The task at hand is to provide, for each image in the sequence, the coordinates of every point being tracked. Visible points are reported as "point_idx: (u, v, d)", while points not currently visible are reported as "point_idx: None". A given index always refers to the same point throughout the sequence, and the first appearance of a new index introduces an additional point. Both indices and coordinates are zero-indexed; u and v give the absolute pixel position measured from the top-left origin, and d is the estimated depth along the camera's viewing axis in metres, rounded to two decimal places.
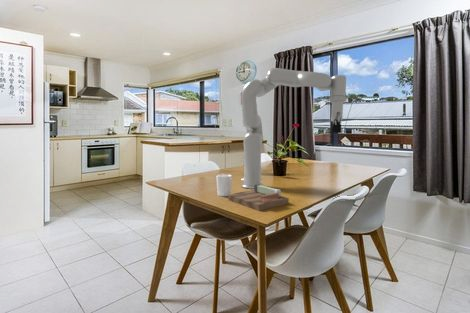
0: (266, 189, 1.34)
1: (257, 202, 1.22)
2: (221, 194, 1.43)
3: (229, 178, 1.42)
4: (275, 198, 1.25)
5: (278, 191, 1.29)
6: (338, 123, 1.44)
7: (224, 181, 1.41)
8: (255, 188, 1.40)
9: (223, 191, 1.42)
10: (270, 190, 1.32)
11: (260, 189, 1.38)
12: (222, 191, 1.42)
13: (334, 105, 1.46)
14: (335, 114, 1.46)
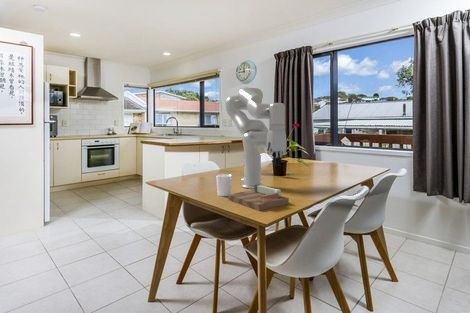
0: (266, 189, 1.34)
1: (257, 202, 1.22)
2: (221, 194, 1.43)
3: (229, 178, 1.42)
4: (275, 198, 1.25)
5: (278, 191, 1.29)
6: (273, 156, 1.40)
7: (224, 181, 1.41)
8: (255, 188, 1.40)
9: (223, 191, 1.42)
10: (270, 190, 1.32)
11: (260, 189, 1.38)
12: (222, 191, 1.42)
13: (267, 135, 1.39)
14: (267, 144, 1.39)
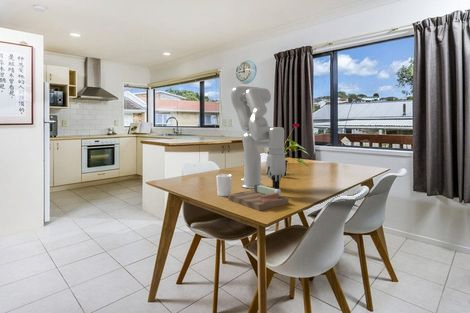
0: (266, 189, 1.34)
1: (257, 202, 1.22)
2: (221, 194, 1.43)
3: (229, 178, 1.42)
4: (275, 198, 1.25)
5: (278, 191, 1.29)
6: (273, 179, 1.42)
7: (224, 181, 1.41)
8: (255, 188, 1.40)
9: (223, 191, 1.42)
10: (270, 190, 1.32)
11: (260, 189, 1.38)
12: (222, 191, 1.42)
13: (267, 158, 1.41)
14: (266, 168, 1.40)
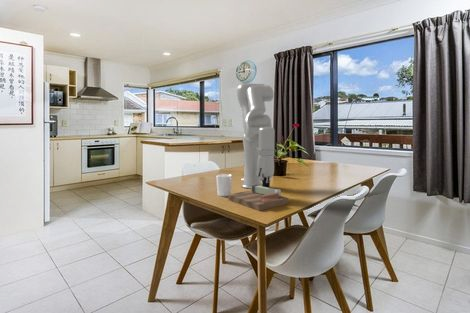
0: (265, 189, 1.34)
1: (257, 202, 1.22)
2: (221, 194, 1.43)
3: (229, 178, 1.42)
4: (275, 198, 1.25)
5: (279, 191, 1.29)
6: (264, 181, 1.37)
7: (224, 181, 1.41)
8: (253, 189, 1.39)
9: (223, 191, 1.42)
10: (270, 190, 1.32)
11: (258, 189, 1.37)
12: (222, 191, 1.42)
13: (258, 160, 1.35)
14: (258, 170, 1.35)
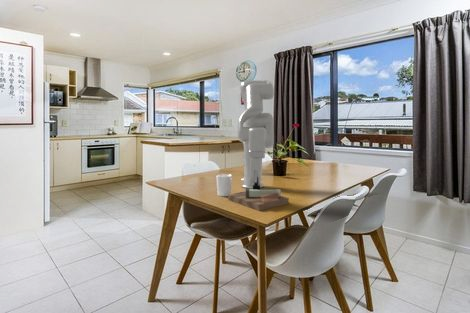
0: (264, 192, 1.29)
1: (257, 202, 1.22)
2: (221, 194, 1.43)
3: (229, 178, 1.42)
4: (275, 198, 1.25)
5: (280, 191, 1.30)
6: (256, 184, 1.31)
7: (224, 181, 1.41)
8: (248, 194, 1.30)
9: (223, 191, 1.42)
10: (270, 192, 1.29)
11: (254, 193, 1.30)
12: (222, 191, 1.42)
13: (251, 162, 1.28)
14: (252, 173, 1.28)
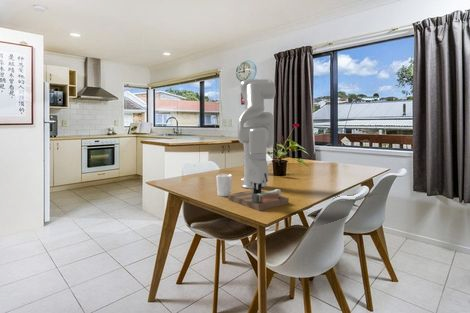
0: None
1: None
2: (221, 194, 1.43)
3: (229, 178, 1.42)
4: (275, 198, 1.25)
5: None
6: (260, 187, 1.25)
7: (224, 181, 1.41)
8: (258, 199, 1.21)
9: (223, 191, 1.42)
10: None
11: None
12: (222, 191, 1.42)
13: (260, 165, 1.20)
14: (262, 176, 1.21)
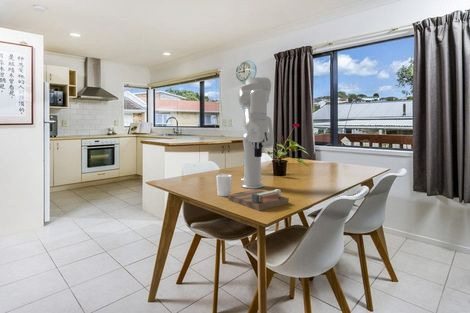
0: None
1: None
2: (221, 194, 1.43)
3: (229, 178, 1.42)
4: (275, 198, 1.25)
5: None
6: (261, 147, 1.31)
7: (224, 181, 1.41)
8: (258, 199, 1.21)
9: (223, 191, 1.42)
10: None
11: None
12: (222, 191, 1.42)
13: (261, 124, 1.26)
14: (263, 135, 1.27)
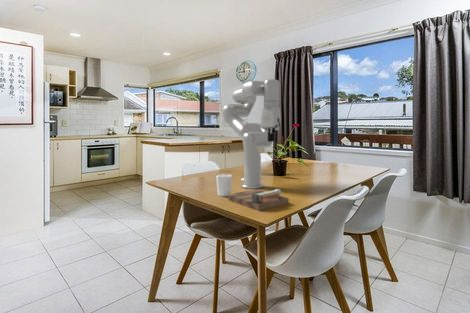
0: None
1: None
2: (221, 194, 1.43)
3: (229, 178, 1.42)
4: (275, 198, 1.25)
5: None
6: (274, 132, 1.43)
7: (224, 181, 1.41)
8: (258, 199, 1.21)
9: (223, 191, 1.42)
10: None
11: None
12: (222, 191, 1.42)
13: (274, 110, 1.39)
14: (276, 120, 1.40)
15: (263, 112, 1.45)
